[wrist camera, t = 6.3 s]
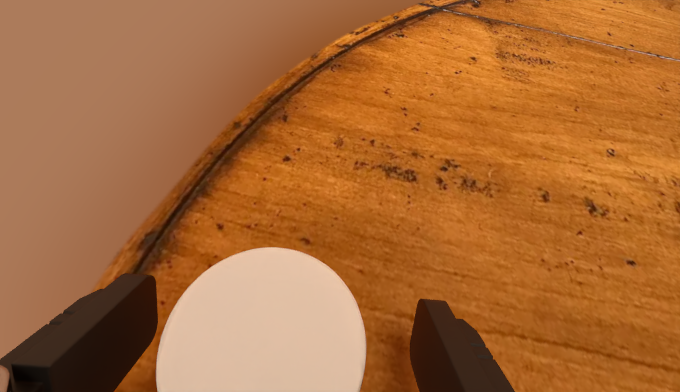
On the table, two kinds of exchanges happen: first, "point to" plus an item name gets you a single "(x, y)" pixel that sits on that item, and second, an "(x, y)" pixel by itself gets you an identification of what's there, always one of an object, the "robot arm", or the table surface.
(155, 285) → the robot arm
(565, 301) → the table surface
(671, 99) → the table surface
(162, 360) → the pill bottle
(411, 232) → the table surface
